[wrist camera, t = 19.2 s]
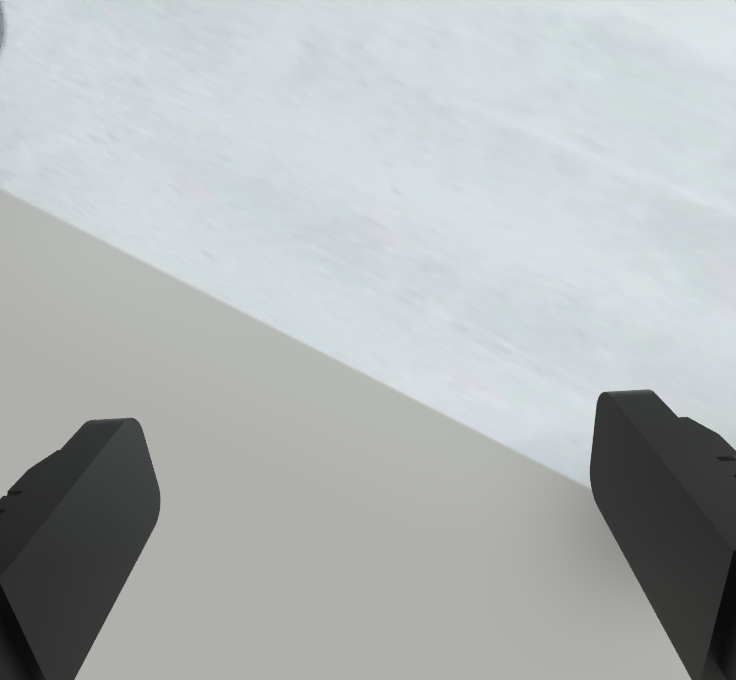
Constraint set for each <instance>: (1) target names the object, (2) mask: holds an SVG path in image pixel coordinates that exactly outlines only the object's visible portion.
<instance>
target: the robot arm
mask: <svg viewBox="0 0 736 680" xmlns="http://www.w3.org/2000/svg"><path fill="white" fill-rule="evenodd" d="M2 37H3V14H2V9H1V4H0V48H1V43H2ZM590 481H591V487H592V492H593V495H594V499H595V501H596V504H597V506H598V508H599V510H600V512H601V513H602V515H603V517H604V519H605V521H606V523H607V524H608V526H609V528H610V530H611V532H612V534H613V535H614V537H615V539H616V541H617V543H618V545H619V547H620V548H621V550H622V552H623V554H624V556H625V558H626V559H627V561H628V563H629V565H630V567H631V568H632V571H633V572H634V574H635V576H636V578H637V580H638V582H639V583H640V585H641V587H642V589H643V591H644V593H645V594H646V596H647V598H648V600H649V602H650V604H651V605H652V607H653V609H654V611H655V613H656V615H657V617H658V618H659V620H660V622H661V624H662V626H663V627H664V629H665V631H666V633H667V635H668V637H669V638H670V640H671V642H672V644H673V646H674V648H675V649H676V652H677V653H678V655H679V657H680V659H681V661H682V663H683V664H684V666H685V668H686V670H687V672H688V674H689V675H690V677H691V679H692V680H736V451H735V450H734V449H733V448H732V447H731V446H730V445H729V444H728V443H727V442H726V441H725V440H724V439H723V438H722V437H721V436H720V435H719V434H717V433H716V432H714V431H712V430H710V429H708V428H706V427H705V426H703V425H701V424H699V423H697V422H695V421H694V420H692V419H690V418H688V417H680V418H678V417H677V416H676V415H675V414H674V413H673V411H672V410H671V409H670V408H669V407H668V406H667V405H666V404H665V403H664V402H663V401H662V400H661V399H660V398H659V397H658V396H657V395H656V394H655V393H654V392H653V391H651V390H631V391H613V392H603V393H601V395H600V396H599V398H598V401H597V407H596V416H595V425H594V435H593V444H592V453H591V462H590ZM159 511H160V490H159V486H158V482H157V479H156V475H155V472H154V468H153V465H152V461H151V458H150V454H149V451H148V447H147V444H146V440H145V437H144V433H143V430H142V427H141V425H140V423H139V422H138V421H137V420H136V419H134V418H121V419H103V420H90V421H87V422H86V423H85V424H84V425H83V426H82V427H81V428H80V429H79V430H78V431H77V432H76V433H75V434H74V435H73V437H72V438H71V439H70V440H69V441H68V442H67V443H66V444H65V445H64V446H63V448H62V449H61V450H57V451H56V452H54V453H53V454H51V455H50V456H48V457H47V458H45V459H44V460H42V461H41V462H39V463H38V464H36V465H35V466H33V467H31V468H30V469H28V470H27V472H26V473H25V474H24V475H23V476H22V477H21V478H20V479H19V480H18V481H17V482H16V483H15V485H13V486H12V487H11V488H10V489H9V491H8V494H7V496H3V497H2V498H1V499H0V680H74V679H75V677H76V675H77V673H78V671H79V670H80V668H81V666H82V664H83V662H84V660H85V658H86V656H87V654H88V652H89V651H90V648H91V646H92V645H93V643H94V641H95V639H96V637H97V635H98V633H99V632H100V630H101V628H102V626H103V624H104V622H105V620H106V618H107V616H108V614H109V612H110V611H111V609H112V607H113V605H114V603H115V601H116V599H117V597H118V595H119V593H120V591H121V590H122V588H123V586H124V584H125V582H126V580H127V578H128V576H129V575H130V573H131V571H132V569H133V567H134V565H135V563H136V561H137V559H138V557H139V556H140V554H141V552H142V550H143V548H144V546H145V544H146V542H147V540H148V538H149V536H150V534H151V532H152V531H153V529H154V527H155V525H156V522H157V520H158V516H159Z"/></svg>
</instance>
